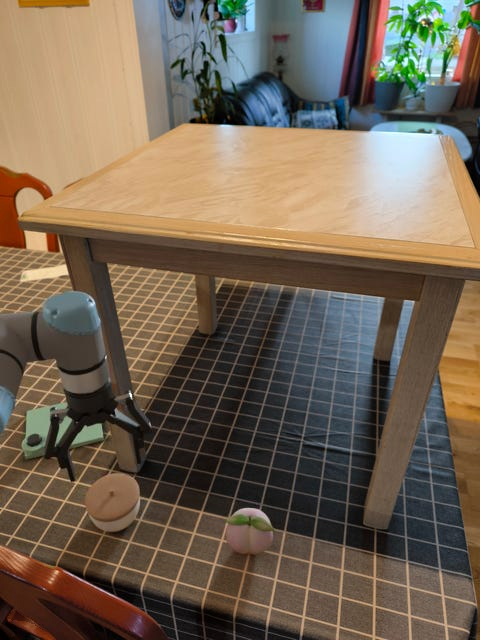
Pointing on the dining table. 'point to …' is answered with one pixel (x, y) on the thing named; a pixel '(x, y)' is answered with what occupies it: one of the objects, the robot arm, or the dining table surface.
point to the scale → (40, 425)
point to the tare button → (34, 440)
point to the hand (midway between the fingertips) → (106, 467)
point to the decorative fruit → (249, 531)
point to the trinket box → (113, 502)
